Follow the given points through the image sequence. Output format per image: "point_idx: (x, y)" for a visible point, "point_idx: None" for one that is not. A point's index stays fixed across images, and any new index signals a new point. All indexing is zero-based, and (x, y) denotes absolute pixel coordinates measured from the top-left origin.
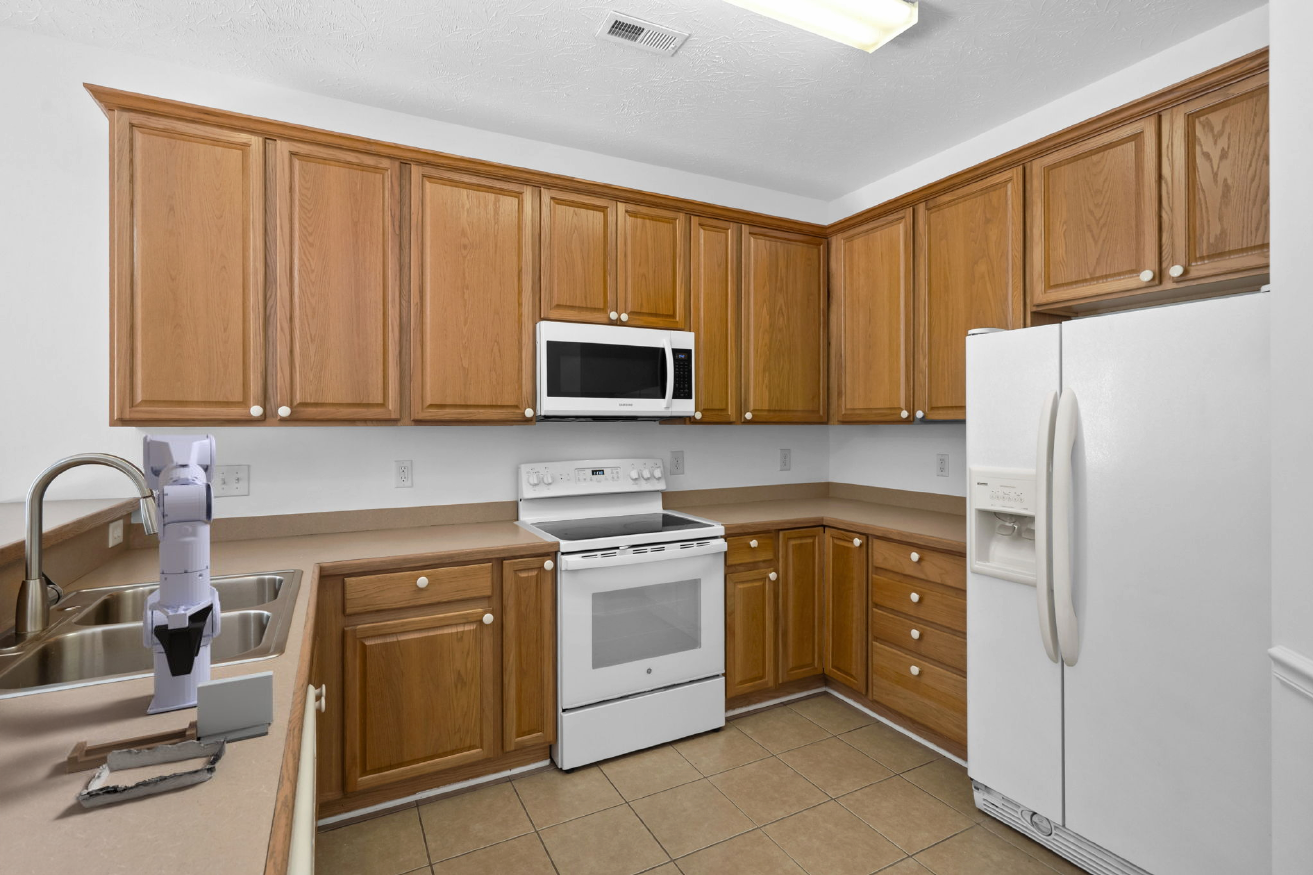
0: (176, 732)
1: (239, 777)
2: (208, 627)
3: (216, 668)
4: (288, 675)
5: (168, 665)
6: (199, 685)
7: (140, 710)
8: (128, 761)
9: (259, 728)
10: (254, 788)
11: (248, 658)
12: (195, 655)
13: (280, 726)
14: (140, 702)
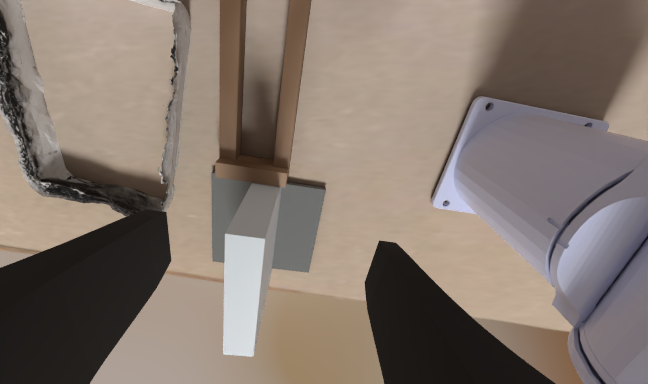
0: (275, 145)
1: (61, 210)
2: (598, 361)
3: None
4: (461, 306)
5: (100, 228)
6: (235, 239)
7: (523, 83)
8: (183, 52)
9: None
10: (12, 222)
11: None
12: (368, 282)
13: None
14: (580, 85)
